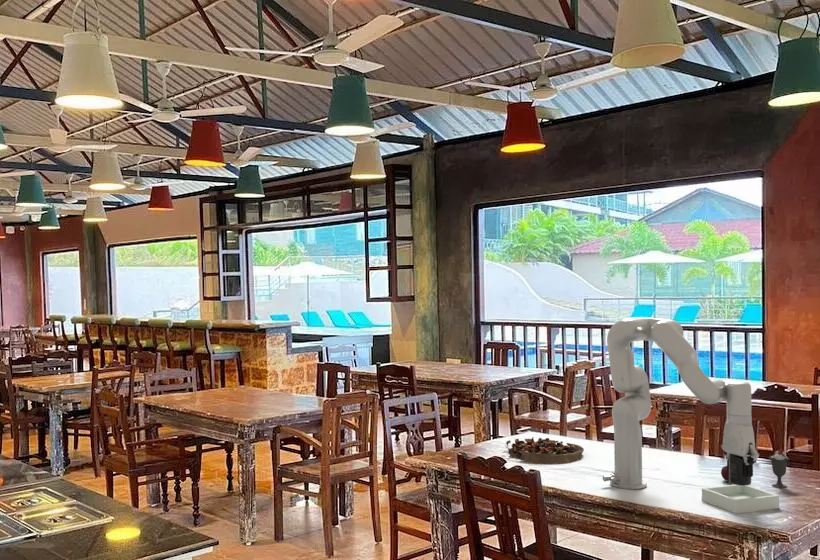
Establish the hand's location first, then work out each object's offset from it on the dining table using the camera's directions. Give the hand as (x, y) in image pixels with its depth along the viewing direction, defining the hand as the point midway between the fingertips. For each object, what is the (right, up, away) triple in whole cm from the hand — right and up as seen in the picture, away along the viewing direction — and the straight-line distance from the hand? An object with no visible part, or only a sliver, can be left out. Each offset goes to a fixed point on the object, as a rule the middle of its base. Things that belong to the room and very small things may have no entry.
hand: (739, 473), depth 258 cm
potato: (+10, -10, +28) cm, 31 cm away
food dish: (-51, -11, +75) cm, 92 cm away
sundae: (+23, -10, +22) cm, 33 cm away
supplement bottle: (0, -3, 0) cm, 3 cm away
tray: (0, -10, 0) cm, 10 cm away
